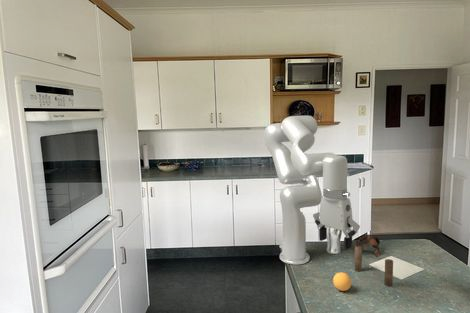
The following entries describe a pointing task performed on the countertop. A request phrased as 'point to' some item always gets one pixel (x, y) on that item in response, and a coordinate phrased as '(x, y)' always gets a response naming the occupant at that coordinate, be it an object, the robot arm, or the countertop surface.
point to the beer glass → (333, 240)
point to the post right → (388, 273)
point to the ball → (342, 281)
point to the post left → (358, 259)
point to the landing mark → (398, 267)
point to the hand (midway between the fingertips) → (335, 243)
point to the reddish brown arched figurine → (365, 241)
